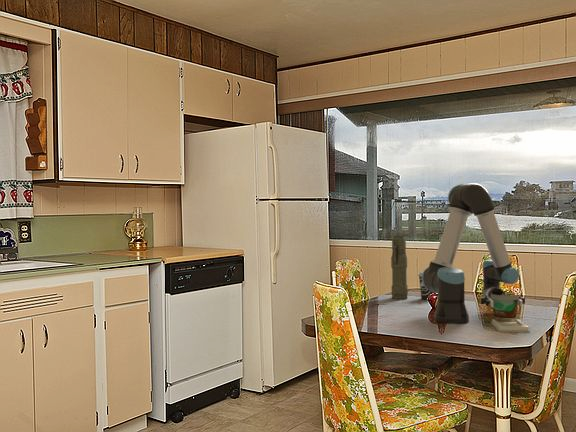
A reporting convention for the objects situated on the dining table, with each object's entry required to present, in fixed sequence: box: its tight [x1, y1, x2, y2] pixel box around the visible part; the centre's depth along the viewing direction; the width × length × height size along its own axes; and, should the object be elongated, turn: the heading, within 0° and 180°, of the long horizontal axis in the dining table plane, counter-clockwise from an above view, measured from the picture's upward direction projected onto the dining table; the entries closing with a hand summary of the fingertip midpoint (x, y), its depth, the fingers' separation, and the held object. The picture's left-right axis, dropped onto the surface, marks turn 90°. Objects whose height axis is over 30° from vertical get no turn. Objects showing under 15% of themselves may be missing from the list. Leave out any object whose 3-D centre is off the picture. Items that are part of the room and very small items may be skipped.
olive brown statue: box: [390, 235, 409, 301], centre depth 328 cm, size 9×12×35 cm
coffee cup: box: [418, 270, 435, 301], centre depth 325 cm, size 10×10×15 cm
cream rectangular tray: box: [490, 319, 530, 333], centre depth 249 cm, size 12×16×2 cm
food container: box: [490, 293, 520, 319], centre depth 257 cm, size 12×6×10 cm, turn 53°
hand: (507, 303), depth 254 cm, fingers closed on food container, 11 cm apart
